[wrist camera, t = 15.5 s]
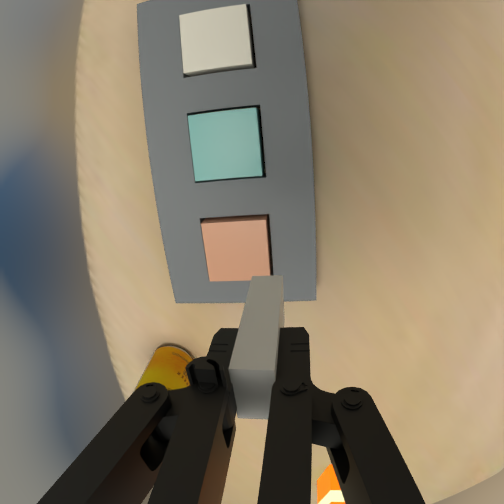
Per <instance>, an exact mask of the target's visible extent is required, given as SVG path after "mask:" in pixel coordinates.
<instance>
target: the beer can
mask: <svg viewBox="0 0 504 504" xmlns="http://www.w3.org/2000/svg"><path fill="white" fill-rule="evenodd" d="M191 361H192V358H191V356H190V355H189V354H188V353H187V352H186V351H185V350H183V349H181V348H179V347H176V346H165V347H160V348H158V349H157V350H156V351H155V352H154V353H153V355H152V357H151V359H150V361H149V363H148V365H147V367H146V369H145V370H144V372H143V374H142V376H141V378H140V380H139V382H138V384H137V386H136V388H135V390H136V389H137V388H138V387H140V386H141V385H143V384H146V383H151V382H156V383H160V384H162V385H164V386H165V387H166V388H167V390H174V389H180V388H185V387H187V386H190V383H189V379H188V376H187V373H186V369H185V367H186V366H187V364H188V363H189V362H191ZM135 390H134V391H135ZM134 391H133V392H134Z"/></svg>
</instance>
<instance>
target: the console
mask: <svg viewBox="0 0 504 504" xmlns="http://www.w3.org/2000/svg"><path fill="white" fill-rule="evenodd" d="M242 4H246V6H247V9H248V11H249V14H251V19H252V28H253V37H254V47H255V57H256V67H257V68H252V69H242V70H234V71H226V72H218V73H211V74H205V75H199V76H193V77H191V76H188V75H186V74H184V72H183V61H182V48H181V35H180V20H179V15H183V14H187V13H192V12H197V11H202V10H208V9H214V8H220V7H227V6H234V5H242ZM137 22H138V44H139V61H140V75H141V87H142V98H143V108H144V117H145V126H146V135H147V143H148V151H149V158H150V166H151V173H152V179H153V186H154V192H155V199H156V205H157V211H158V217H159V222H160V228H161V233H162V239H163V244H164V249H165V254H166V259H167V264H168V269H169V274H170V279H171V283H172V288H173V293H174V297H175V302H176V303H245V302H246V298H247V294H248V290H249V286H250V282H251V280H247V281H210V280H209V274H208V267H207V261H206V254H205V248H204V241H203V234H202V227H201V223H202V222H203V221H204V219H205V218H211V217H226V216H242V215H260V214H269V217H270V230H271V244H272V258H273V266H272V269H271V276H273V275H283V297H284V302H286V301H311V300H316V225H315V195H314V173H313V155H312V139H311V125H310V112H309V100H308V89H307V78H306V68H305V59H304V50H303V41H302V33H301V25H300V17H299V10H298V3H297V0H149V1H146V2H142V3H139V4H137ZM250 107H260V109H261V120H262V131H263V143H264V154H265V166H266V173H263V175H262V176H252V177H239V178H226V179H215V180H204V181H195V175H194V167H193V159H192V151H191V142H190V133H189V124H188V116H190V115H196V114H199V113H206V112H214V111H222V110H231V109H240V108H250Z"/></svg>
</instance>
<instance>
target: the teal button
mask: <svg viewBox="0 0 504 504" xmlns="http://www.w3.org/2000/svg"><path fill="white" fill-rule="evenodd" d="M188 124H189V133H190V142H191V151H192V159H193V167H194V175H195V181H204V180H215V179H226V178H239V177H252V176H262V175H263V173H264V160H263V149H262V137H261V126H260V115H259V109H258V108H246V109H236V110H227V111H219V112H211V113H204V114H197V115H190V116H188Z"/></svg>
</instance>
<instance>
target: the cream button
mask: <svg viewBox="0 0 504 504" xmlns="http://www.w3.org/2000/svg"><path fill="white" fill-rule="evenodd" d="M179 20H180V35H181V48H182V61H183V72H184V74H186V75H188V76H191V77H193V76H199V75H205V74H211V73H218V72H226V71H234V70H242V69H252V68H255V62H254V52H253V42H252V33H251V23H250V14H249V11H248V9H247V6H246V4H242V5H234V6H227V7H220V8H214V9H208V10H202V11H197V12H192V13H187V14H183V15H179Z"/></svg>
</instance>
